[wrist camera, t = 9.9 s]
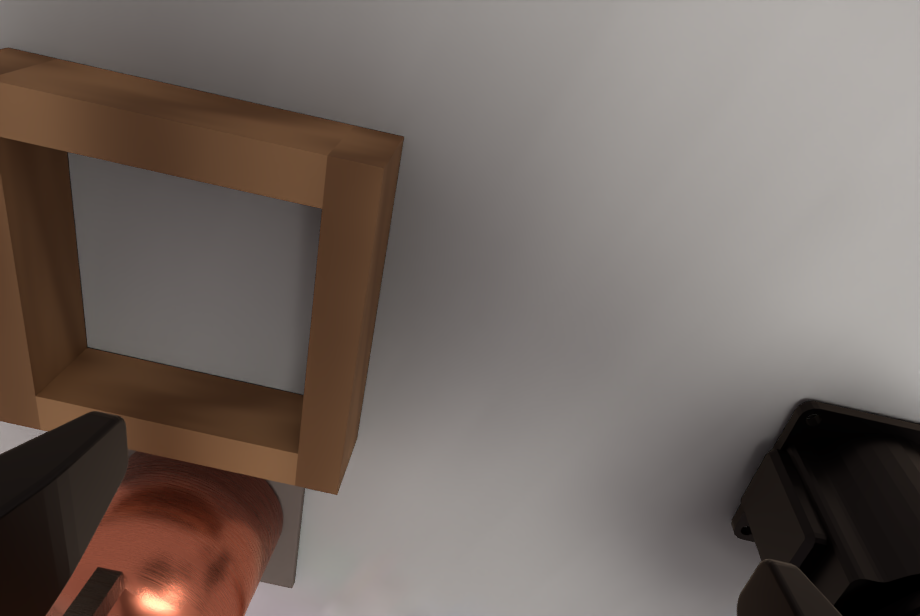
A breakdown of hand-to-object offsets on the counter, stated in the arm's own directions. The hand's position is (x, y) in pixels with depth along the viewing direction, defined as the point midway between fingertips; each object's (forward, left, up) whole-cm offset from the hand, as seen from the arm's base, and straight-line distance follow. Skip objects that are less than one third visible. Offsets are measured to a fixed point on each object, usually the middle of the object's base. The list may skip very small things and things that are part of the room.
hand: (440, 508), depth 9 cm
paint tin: (+9, +16, -12) cm, 22 cm away
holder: (+9, +5, -13) cm, 17 cm away
